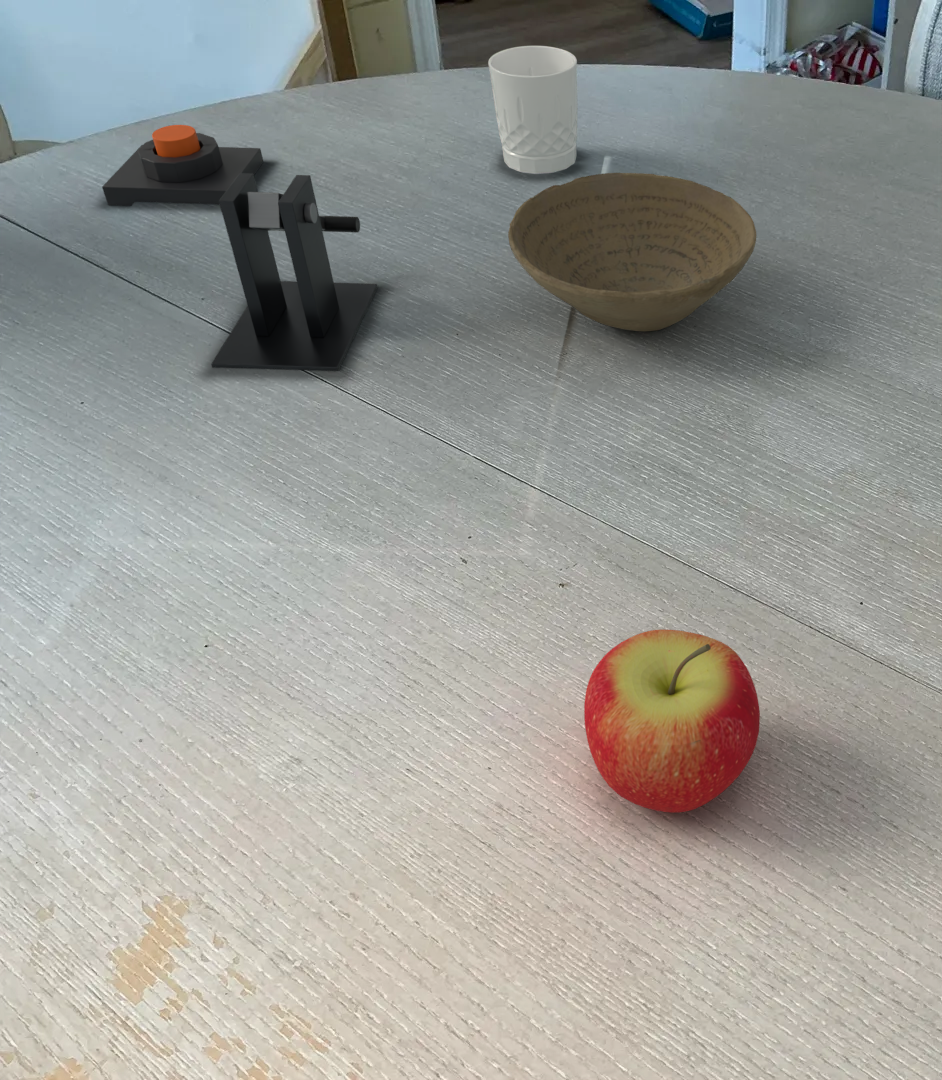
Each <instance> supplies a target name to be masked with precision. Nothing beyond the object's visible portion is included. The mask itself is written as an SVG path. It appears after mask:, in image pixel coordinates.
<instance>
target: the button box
mask: <svg viewBox="0 0 942 1080" xmlns="http://www.w3.org/2000/svg"><path fill="white" fill-rule="evenodd" d="M196 134H197V138H198V141H199V145H200V150H199V151H198V152H195V153H193V154H191V155H187V156H181V157H161V156H158V154H157V151H156V148H155V144H154V141H153V139H151V140H147V141H146V142H144V143H143V144H141V145H140V146H139V147H138V148H137V149H136V150H135V151H134V152H133V153H132V155H130V157H128V159H127V160H126V161H125V162H124V163H123V164H122V165H121V166H120V167H119V168H118V170H116V172H114V173H113V175H112V176H111V177H109V179H108V180H107V181H106V182H105V183H104V184H103V185H102V186H101V188H102V191H103V194H104V197H105V200H106V203H107V206H111V207H113V206H114V207H116V206H117V207H132V206H133V205H134V204H135V203H157V204H160V203H161V204H166V203H167V204H189V205H190V204H193V205H196V204H197V205H220V204H219V200H220V199H221V197H222V196H223V195H224V193H225V192H226V191H227V189H228V188H229V187H230V185H231V184H232V183H233V181H234V180H235V179H236V178H237V176H238V175H239V174H240V173H248V174H254V175H256V173H257V172H258V171H259V170H260V167H262V165H263V164H264V162H265V161H264V158H263V154H262V153H263V152H262V149H261V147H233V146H232V147H231V146H219V144H218V142H217V140H216V139H215V137H213V136H211V135H207V134H204V133H201V132H196Z"/></svg>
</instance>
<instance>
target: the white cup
mask: <svg viewBox="0 0 942 1080" xmlns="http://www.w3.org/2000/svg"><path fill="white" fill-rule="evenodd" d="M487 64H488V70H489V77H490V84H491V91H492V97H493V104H494V112H495V118H496V122H497V128H498V135H499V139H500V142H501V148H502V156H503V161H504V163H505V164H506V165H507V167H508V168H509V169H512V170H515V171H517V172H520V173H524V174H525V173H526V174H533V175H540V174H541V175H542V174H553V173H558V172H560V171H564V170H567V169H568V168H570V167H571V166H573V165H574V164H575V163H576V159H577V140H578V109H579V108H578V60H577V57H576V56H575V55H574V54H573V53H572V52H570V51H568V50H565V49H562V48H560V47H559V48H558V47H554V46H547V45H522V46H515V47H510V48H506V49H503V50H500V51H498V52H496V53H494V54H492V55H491V56H490V58H488V62H487Z"/></svg>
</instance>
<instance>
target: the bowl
mask: <svg viewBox="0 0 942 1080" xmlns="http://www.w3.org/2000/svg"><path fill="white" fill-rule="evenodd" d="M757 234H758V233H757V229H756V226H755V222H754V220H753V218H752V216H751V215H750V214H749V213H748V211H746V210H745V208H744V207H743V206H742V205H741V204H740V203H738V202H737V201H736V200H735V199H734V198H732V197H731V196H728V195H726V194H725V193H723V192H722V191H719V190H716V189H713V188H712V187H709V186H708V185H707V186H706V185H703V184H701V183H698V182H696V181H694V180H689V179H685V178H680V177H674V176H669V175H659V174H655V173H646V172H645V173H644V172H643V173H642V172H604V173H598V174H593V175H592V174H591V175H585V176H580V177H576V178H574V179H573V180H570V181H568V182H565V183H561V184H553V185H551V186H549V187H545V189H543V190H541V191H540V192H538V193H537V194H535V195H534V196H533V197H529V198H528V199H527V200H525V201H523V202H522V204H521V205H520V206H519V207H518V208H517V209H516V211H515V213H514V216H513V218H512V219H511V221H510V222H509V228H508V232H507V237H508V242H509V248H510V250H511V252H512V254H513V256H514V258H515V259H516V261H517V262H518V263H519V265H520V266H521V267H522V268H523V270H524V271H525V272H526V273H527V274H528V275H529V277H531V278H532V279H533V281H535V282H536V283H537V284H538V285H539V286H540V287H541V288H543V289H545V291H547V293H550V294H551V295H553V296H555V297H556V298H558V299H559V300H561V301H562V302H564V303H566V304H568V305H569V306H571V307H572V308H574V309H575V310H576V311H578V312H579V313H580V314H582V315H583V316H585V317H586V318H588V319H590V320H592V321H593V322H596V323H598V324H601V325H604V326H608V327H612V328H615V329H620V330H626V331H631V332H632V331H633V332H655V331H660V330H664V329H666V328H668V327H670V326H672V325H675V324H677V323H679V322H680V321H682V320H684V319H685V318H687V317H688V316H690V315H691V314H693V313H694V312H695V311H696V310H697V309H698V308H700V307H701V306H702V305H704V304H705V303H706V302H708V301H709V300H710V299H712V298H713V297H714V296H716V294H718V293H719V292H721V290H723V289H724V288H725V287H726V286H728V285H729V284H730V283H731V282H732V281H733V280H734V279H735V278H736V277H737V275H738V274H739V273H740V272H741V271H742V270H743V268H744V267H745V265H746V264H747V262H748V261H749V259H750V258H751V256H752V254H753V253H754V250H755V246H756V242H757Z"/></svg>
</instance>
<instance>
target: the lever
mask: <svg viewBox="0 0 942 1080" xmlns="http://www.w3.org/2000/svg"><path fill="white" fill-rule="evenodd" d="M247 194H248V217H249V227H250V228H254V229H259V230H264V231H268V232H285V230H284V226H283V222H282V218H281V214H280V209H279V205H278V202H279V200H280V199H281V197H282V196H283V194H284V193H281V192H273V191H271V192H269V191H258V192H248V193H247ZM319 218H320V222H321V227H322V231H323V233H325V232H327V233H359V232H360V230H361V221H360V218H359V217H358V216H345V215H319Z"/></svg>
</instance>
